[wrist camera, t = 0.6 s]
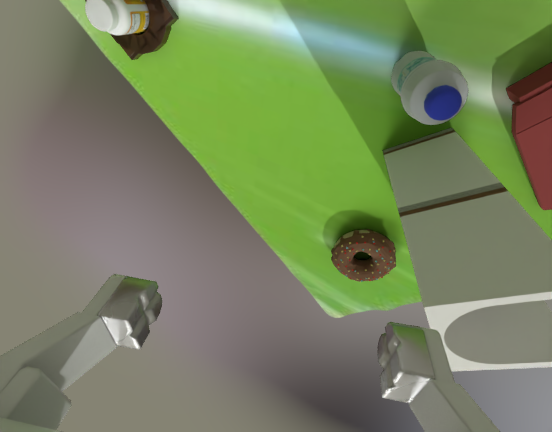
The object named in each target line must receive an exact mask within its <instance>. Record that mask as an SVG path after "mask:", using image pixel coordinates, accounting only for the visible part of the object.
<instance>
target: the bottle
mask: <svg viewBox="0 0 552 432" xmlns="http://www.w3.org/2000/svg"><path fill="white" fill-rule="evenodd" d="M391 82H392V85H393V88H394V89H395V91H396V92H397V93H398V94H399V95H400V96H401V102H402V105H403V107H404V109H405V111H406V112H407V114H408V115H409V116H411V117H412V118H414V119H416V120H417V121H419V122H421V123H423V124H428V125H436V124H441V123H444V122H446V121H448V120H450V119H452V118H453V117H454V116H456V115H457V114H458V113H459V112H460V110H461V109H462V108H463V106H464V104H465V102H466V100H467V96H468V85H467V82H466V80H465V78H464V77H463V75H462V73H461V71H460V70H459V69H458V68H457V67H456V66H455V65H453V64H452V63H449V62H446V61H442V60H436V59H435V58H434V57H433V56H432V55H431V54H429V53H427V52H424V51H412V52H409V53H407V54H405V55H404V56H403V57H402V58H401V59H400V60H399V61H398V62H397V63H396V64H395V65H394V67H393V71H392V77H391Z"/></svg>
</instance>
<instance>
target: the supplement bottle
mask: <svg viewBox="0 0 552 432" xmlns="http://www.w3.org/2000/svg"><path fill="white" fill-rule="evenodd" d="M85 10H86V14H87V17H88V19H89V21H90V22H91V24H92V25H93V26H94V27H95V28H97V29H98V30H100V31H107V32H108V33H110V34H113V35H125V34H132V33H139V32H145V31H147V30H148V27H149V24H150V14H149V10H148V8H147V5H146V3H145V2H144V0H87V2H86V5H85Z"/></svg>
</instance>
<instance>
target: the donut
mask: <svg viewBox="0 0 552 432" xmlns="http://www.w3.org/2000/svg"><path fill="white" fill-rule="evenodd" d="M360 251H361V252H366V253H368V254H369V255H370V256H372V257H371V258H370V259H367V260H357V259H356V258H354V255H355V254H356V253H357V252H360ZM331 252H332V257H331V260H332V262H333V264H334V266H335V267H336V268H337V269H338V270H339V271H340V272H341V273H342V274H343V275H345V276H346V277H348V278H349V279H352V280H356V281H359V282H362V281H373V280H378V279H380V278H383V276H385V275H386V274H389V271H391V270H392V269H393V268H394V267H395V266H396V257H395V252H396V251H395V247H394V243H393V242H392V241H390V240H389V239H388V238H387V237H386V236H384V235H382V234H380V233H377V232H374V231H371V230H369V229H367V230H356V229H355V230H354V231H352V232H349V233H347V234H345V235H343V236H341V238H339V240H338V241H337V242H336V244H335V245H334V248H333V249H332V251H331Z"/></svg>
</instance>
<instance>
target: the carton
mask: <svg viewBox="0 0 552 432" xmlns="http://www.w3.org/2000/svg"><path fill="white" fill-rule="evenodd" d="M506 90H507V93H508V96H509V99H510V100H512V101H513V102H514V104H512V134H513V137H514V139H515V142H516V145H517V147H518V150H519V153H520V155H521V158H522V161H523V163H524V166H525V169H526V171H527V174H528V177H529V179H530V182H531V185H532V188H533V190H534V193H535V196H536V198H537V201H538V204H539V206H540V207H541V208H542V209H543V210H550V209H552V62H551V63H550V64H548V65H546V66H544V67H543V68H541V69H539V70H537V71H536V72H534V73H532V74H530V75H529V76H527V77H525V78H523V79H522V80H520V81H518V82H516V83H515V84H513V85H511V86H509V87H508V88H506Z"/></svg>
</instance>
